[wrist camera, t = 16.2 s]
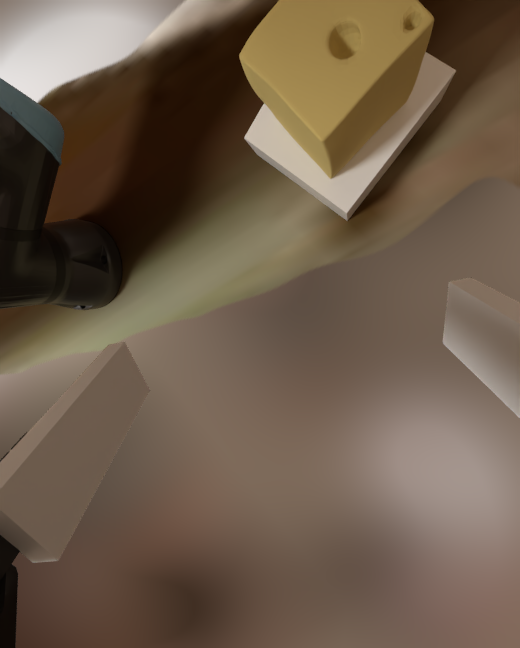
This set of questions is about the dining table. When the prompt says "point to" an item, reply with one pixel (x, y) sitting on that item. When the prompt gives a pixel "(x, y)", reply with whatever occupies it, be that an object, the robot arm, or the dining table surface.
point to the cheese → (336, 69)
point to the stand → (368, 161)
